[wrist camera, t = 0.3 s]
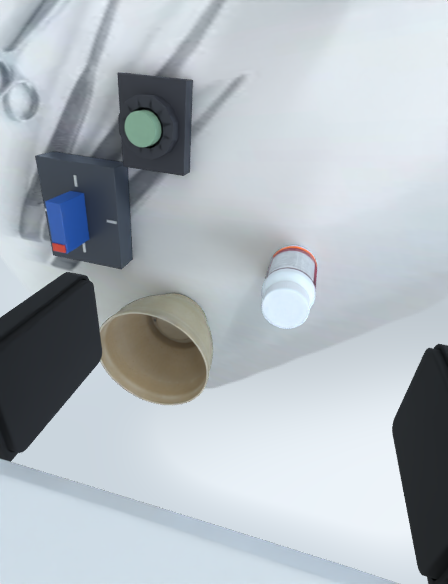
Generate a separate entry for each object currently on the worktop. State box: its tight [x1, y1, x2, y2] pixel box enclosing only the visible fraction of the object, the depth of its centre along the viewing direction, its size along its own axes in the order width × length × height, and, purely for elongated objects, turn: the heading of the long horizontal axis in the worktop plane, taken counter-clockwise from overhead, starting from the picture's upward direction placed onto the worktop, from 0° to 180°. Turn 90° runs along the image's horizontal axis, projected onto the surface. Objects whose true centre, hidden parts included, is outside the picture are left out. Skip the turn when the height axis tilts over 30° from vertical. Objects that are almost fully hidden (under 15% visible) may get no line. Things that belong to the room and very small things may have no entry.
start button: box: [125, 110, 162, 147], centre depth 39 cm, size 4×4×2 cm
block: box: [118, 73, 193, 176], centre depth 41 cm, size 10×8×4 cm
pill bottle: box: [261, 245, 317, 329], centre depth 43 cm, size 6×6×11 cm
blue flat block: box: [45, 191, 89, 254], centre depth 46 cm, size 6×2×5 cm, turn 175°
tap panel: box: [35, 152, 132, 269], centre depth 49 cm, size 14×11×4 cm
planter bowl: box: [99, 293, 213, 405], centre depth 52 cm, size 16×16×11 cm
